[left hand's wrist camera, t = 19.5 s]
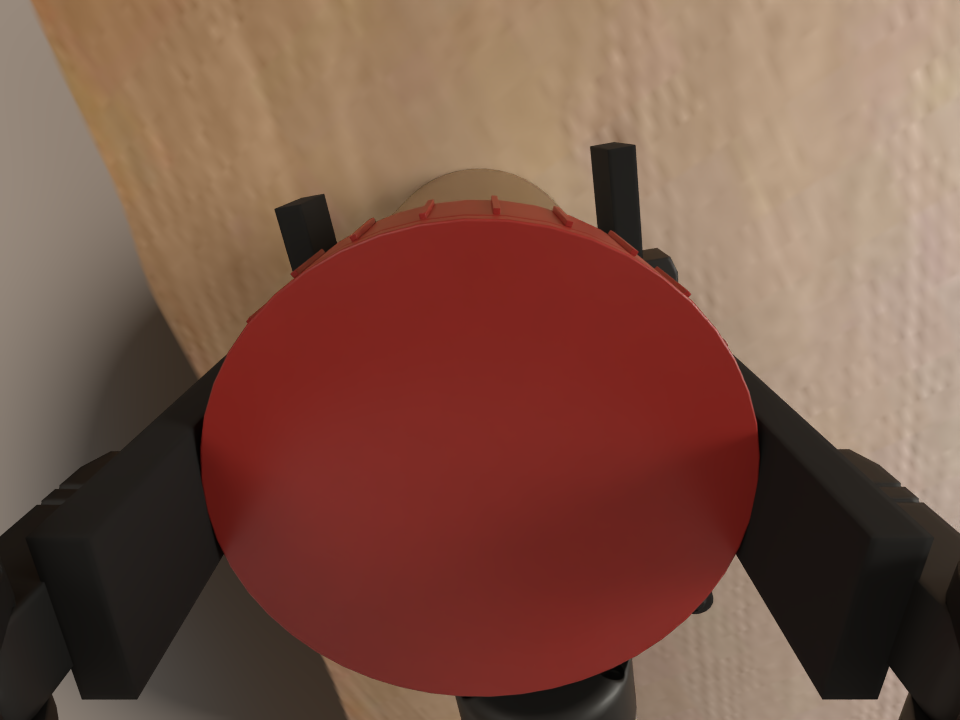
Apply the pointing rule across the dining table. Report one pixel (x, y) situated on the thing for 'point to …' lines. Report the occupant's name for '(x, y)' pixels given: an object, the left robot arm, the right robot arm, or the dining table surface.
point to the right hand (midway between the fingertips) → (453, 174)
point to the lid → (479, 451)
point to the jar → (478, 189)
